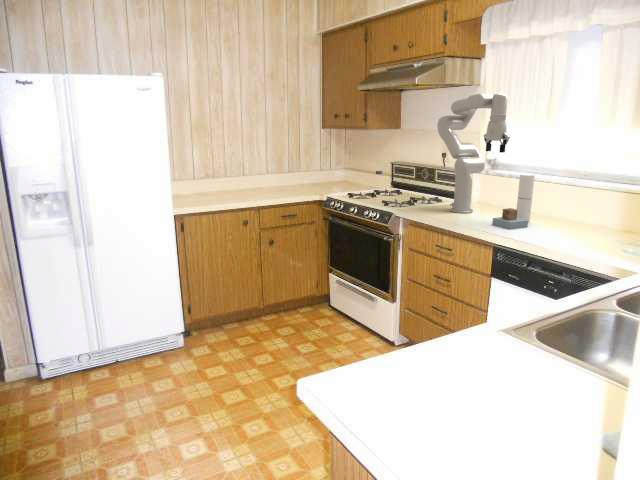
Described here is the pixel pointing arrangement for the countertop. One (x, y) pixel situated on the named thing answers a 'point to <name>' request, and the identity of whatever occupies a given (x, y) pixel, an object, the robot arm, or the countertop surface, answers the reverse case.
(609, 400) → the countertop surface
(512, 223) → the grey base block
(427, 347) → the countertop surface
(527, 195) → the cylindrical container
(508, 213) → the walnut cube
